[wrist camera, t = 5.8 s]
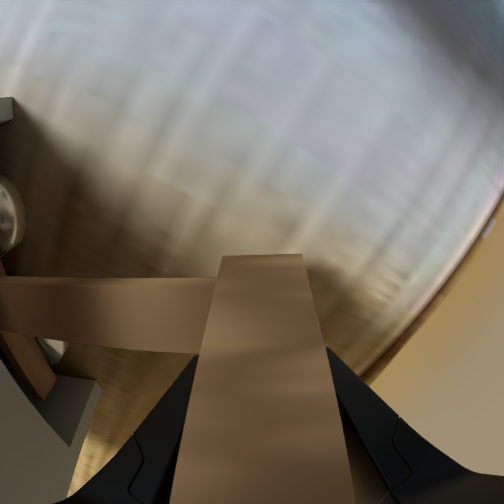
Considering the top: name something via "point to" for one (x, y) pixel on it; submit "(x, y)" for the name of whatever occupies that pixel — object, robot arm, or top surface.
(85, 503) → the robot arm
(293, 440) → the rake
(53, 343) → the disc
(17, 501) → the cabinet
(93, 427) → the top surface
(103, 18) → the top surface
